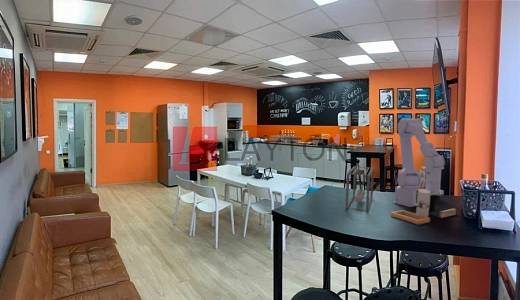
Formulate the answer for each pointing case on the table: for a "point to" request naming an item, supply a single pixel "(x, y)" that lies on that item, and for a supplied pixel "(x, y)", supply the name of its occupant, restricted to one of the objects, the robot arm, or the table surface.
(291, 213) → the table surface
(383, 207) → the table surface
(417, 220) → the tan wooden flat tray
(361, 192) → the newton's cradle
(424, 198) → the ink box
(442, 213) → the birch tunnel
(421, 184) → the candy bar box
